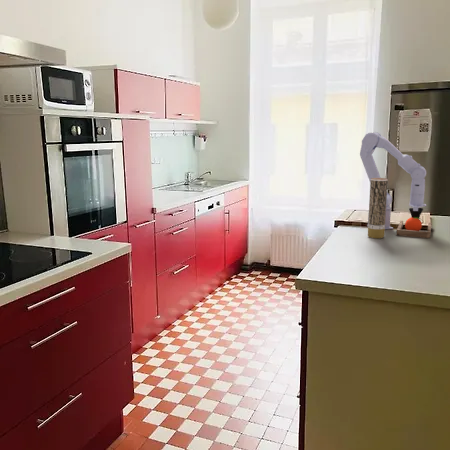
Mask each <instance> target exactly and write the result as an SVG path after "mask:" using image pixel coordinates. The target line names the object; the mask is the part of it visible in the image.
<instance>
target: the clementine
mask: <svg viewBox="0 0 450 450" xmlns="http://www.w3.org/2000/svg"><path fill="white" fill-rule="evenodd" d="M422 221H423V220H422V218H420V217H419V218H415V217H409V218H407V220H406V221H405V223H404V227H405V230H413V231H421V229H422V227H423V224H422Z"/></svg>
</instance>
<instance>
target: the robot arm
mask: <svg viewBox="0 0 450 450" xmlns="http://www.w3.org/2000/svg"><path fill="white" fill-rule="evenodd" d="M360 146H361V147H360V151H359V156H360V159H361V162H362V164H363V165H362V166H363V167H364V169H365V173H366V175H367V178H368V180H369V182H370V181H371V178H382V177H381V175H380V173H379V170H378V167H377V164H376V162H375V159H374V157H373V154H374V151H375V150H376V148H379V149H380V148H381V149H384V150H385V151H386V152H388V153H389V154H390V155H391V156H392V157H394V158H395V159H396V160H397V165H398V166H399V167H401V169H403V170H404V171H405V172H406V173H407V174H410V178H411V183H410V192H409V193H410V195H409V203H408V206H409V207H410V208H408V209H409V210H408V211H409V213H410V215H411V217H415V218H420V216H421V214H422V213H423V211H424V208H423V207H427V204H426V203H425V202H424V201H425V193H426V192H425V189H426V179H425V178H426V177H427V169H425V167H424V166H422V165H421V163H418V162H417V161H416V160H415V159H414V158H413V156H412V155H409V154H403V153H402V152H401V151H400V150H399V149H398V148H397V147H396V146H395V145H394V144H393V143H392V142H390V140H388V138H386V137H385V136H384V135H381V133H380V132H377V131H374V132H368V133H366V134H365V135H364V137H363V138H362V139H361V145H360ZM392 202H393V197H392V196H391V194H389V193H388V191H387V200H386V217H385V230H393V229H394V227H392V226H391V214H392V207H391V204H392ZM411 217H410V218H411ZM368 219H369V212H368V216H367V220H368ZM366 226H367V227H368V224H367V225H366Z"/></svg>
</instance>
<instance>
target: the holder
mask: <svg viewBox="0 0 450 450" xmlns="http://www.w3.org/2000/svg"><path fill="white" fill-rule="evenodd" d="M403 226H404V220H400V221H399V224H398V226H397V228H396V235H395V236H397V237H398V236H400V237H410V238H411V237H412V238H420V239H421V238H422V239H423V238H424V239H431V233H432V231H431V230H432V222H428V225H427V231H425V230H419V231H413V230H406V229H403Z"/></svg>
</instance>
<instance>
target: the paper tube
mask: <svg viewBox="0 0 450 450" xmlns="http://www.w3.org/2000/svg"><path fill="white" fill-rule="evenodd" d="M369 185H370V187H369V204H368V205H369V206H368V213H369V219H368V218H367V225H368V226H367V237H368V238H371V239H377V240H378V239H383V238H384V237H385V232H386V231H385V230H386V229H385V217H386V200H387V192H388V185H389V184H388V178H386V177H381V178H371V181H369Z"/></svg>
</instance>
